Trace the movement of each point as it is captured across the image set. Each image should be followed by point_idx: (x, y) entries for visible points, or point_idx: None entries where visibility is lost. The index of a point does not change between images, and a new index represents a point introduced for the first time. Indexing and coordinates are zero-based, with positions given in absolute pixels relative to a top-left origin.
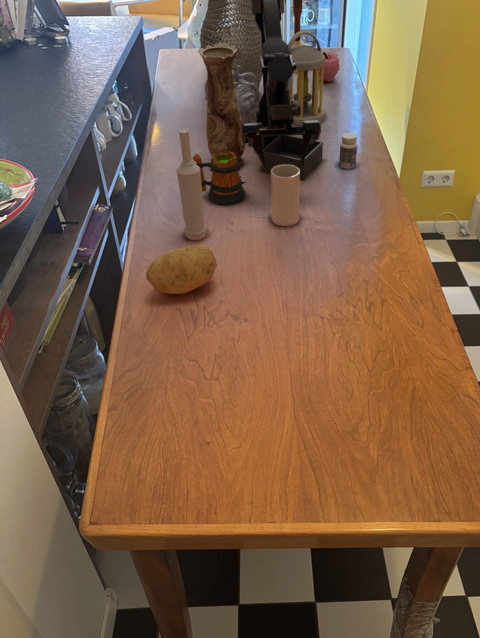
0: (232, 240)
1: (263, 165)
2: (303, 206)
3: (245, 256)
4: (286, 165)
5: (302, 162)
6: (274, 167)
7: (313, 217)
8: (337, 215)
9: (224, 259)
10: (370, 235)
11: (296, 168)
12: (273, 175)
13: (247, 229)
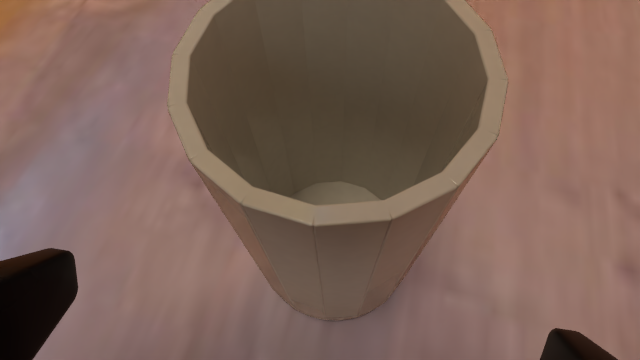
0: (612, 127)
1: (589, 340)
2: (192, 355)
3: (550, 22)
4: (280, 195)
5: (37, 260)
6: (450, 169)
7: (190, 223)
8: (70, 212)
9: (633, 20)
10: (40, 44)
11: (190, 106)
12: (480, 23)
13: (542, 196)
